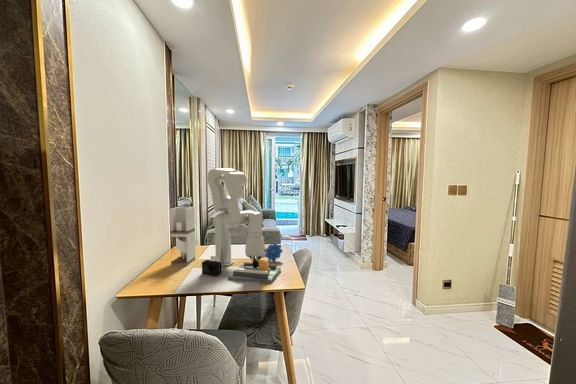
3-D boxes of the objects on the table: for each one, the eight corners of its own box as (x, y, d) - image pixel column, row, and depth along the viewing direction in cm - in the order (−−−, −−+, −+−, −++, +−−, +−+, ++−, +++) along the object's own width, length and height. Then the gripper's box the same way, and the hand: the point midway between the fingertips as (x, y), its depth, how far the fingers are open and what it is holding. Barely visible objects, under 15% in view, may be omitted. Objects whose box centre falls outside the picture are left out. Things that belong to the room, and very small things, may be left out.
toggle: (257, 272, 138) (257, 260, 138) (260, 269, 143) (260, 258, 143) (267, 273, 137) (267, 261, 136) (270, 270, 142) (270, 258, 141)
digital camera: (200, 274, 142) (200, 262, 142) (207, 271, 147) (206, 259, 147) (214, 277, 138) (214, 264, 138) (221, 274, 143) (221, 261, 143)
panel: (227, 279, 135) (227, 273, 135) (242, 267, 153) (242, 262, 153) (270, 283, 130) (270, 277, 129) (280, 271, 147) (280, 266, 147)
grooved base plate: (232, 275, 136) (232, 269, 136) (245, 265, 151) (245, 259, 151) (266, 278, 131) (266, 272, 131) (276, 268, 146) (276, 262, 146)
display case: (179, 259, 170) (178, 206, 168) (195, 259, 169) (194, 206, 168) (171, 265, 158) (169, 208, 157) (188, 265, 158) (187, 208, 157)
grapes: (282, 258, 171) (282, 241, 170) (282, 262, 164) (282, 243, 163) (264, 259, 170) (264, 241, 169) (264, 262, 163) (264, 243, 163)
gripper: (239, 235, 138) (240, 268, 139) (265, 236, 135) (266, 271, 135) (245, 232, 146) (245, 264, 146) (270, 233, 142) (270, 266, 143)
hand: (255, 267), depth 141 cm, fingers closed
